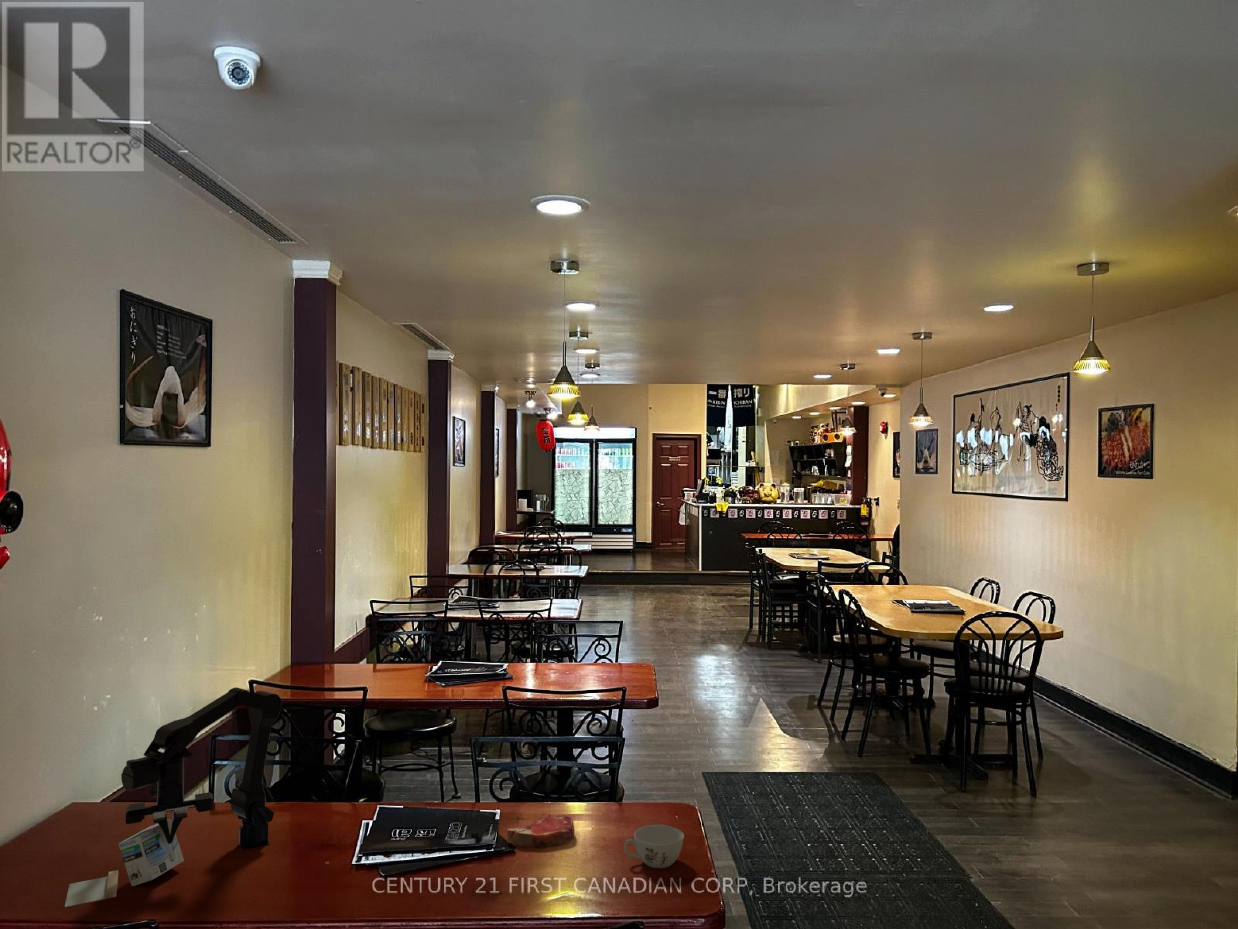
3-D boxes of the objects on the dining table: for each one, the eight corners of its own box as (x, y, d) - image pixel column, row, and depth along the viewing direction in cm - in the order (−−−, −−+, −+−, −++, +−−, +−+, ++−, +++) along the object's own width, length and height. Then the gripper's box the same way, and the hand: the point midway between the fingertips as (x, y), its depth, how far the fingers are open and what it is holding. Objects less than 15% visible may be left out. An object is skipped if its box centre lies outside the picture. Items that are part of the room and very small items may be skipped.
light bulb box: (153, 880, 200) (139, 835, 201) (130, 888, 201) (116, 844, 202) (185, 860, 210) (172, 817, 211) (163, 867, 211) (150, 825, 212)
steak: (579, 823, 240) (579, 804, 240) (599, 856, 220) (599, 834, 220) (491, 834, 233) (491, 814, 233) (503, 868, 213) (503, 846, 213)
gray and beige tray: (118, 876, 206) (118, 870, 206) (116, 898, 196) (116, 891, 196) (69, 885, 202) (69, 879, 202) (64, 908, 191) (64, 902, 191)
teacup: (679, 853, 220) (679, 822, 220) (687, 876, 208) (687, 843, 208) (621, 855, 219) (622, 824, 219) (626, 878, 207) (626, 845, 207)
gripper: (211, 762, 218) (210, 823, 218) (127, 774, 209) (126, 838, 209) (213, 776, 208) (213, 840, 208) (126, 789, 199) (125, 856, 199)
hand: (169, 843), depth 206 cm, fingers closed
